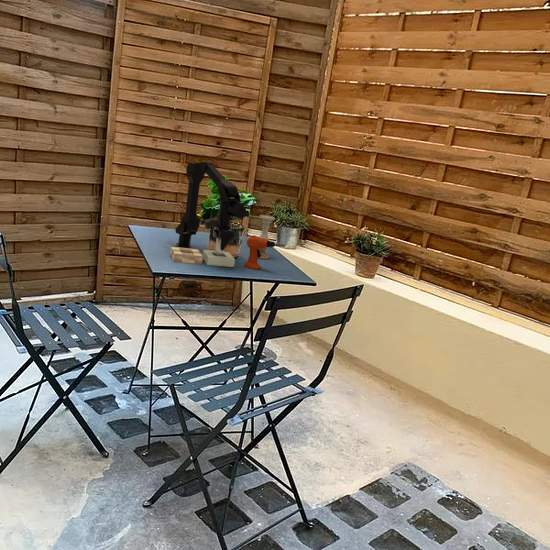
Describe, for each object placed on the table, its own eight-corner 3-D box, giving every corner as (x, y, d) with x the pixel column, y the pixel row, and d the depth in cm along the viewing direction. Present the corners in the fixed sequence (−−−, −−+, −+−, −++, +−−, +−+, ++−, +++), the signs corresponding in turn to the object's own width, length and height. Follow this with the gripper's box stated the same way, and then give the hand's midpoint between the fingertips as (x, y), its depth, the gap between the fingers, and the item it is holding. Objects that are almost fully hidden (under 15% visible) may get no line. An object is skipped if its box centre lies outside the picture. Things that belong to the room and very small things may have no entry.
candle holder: (248, 254, 269) (255, 213, 264) (264, 254, 273) (271, 215, 268) (256, 259, 262) (263, 217, 256) (272, 259, 266) (279, 219, 261)
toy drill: (281, 273, 237) (283, 239, 234) (242, 268, 244) (243, 235, 241) (285, 271, 242) (287, 238, 239) (247, 266, 249) (248, 233, 245)
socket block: (169, 254, 242) (170, 246, 241) (196, 256, 246) (197, 249, 245) (173, 261, 231) (174, 253, 230) (201, 264, 235) (202, 256, 234)
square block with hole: (202, 257, 247) (203, 249, 246) (227, 259, 251) (228, 252, 250) (207, 264, 236) (208, 256, 235) (233, 267, 240) (235, 259, 239)
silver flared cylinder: (212, 260, 244) (215, 236, 242) (220, 261, 246) (224, 237, 243) (214, 262, 241) (217, 238, 238) (222, 263, 242) (226, 239, 239)
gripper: (203, 207, 243) (198, 241, 247) (211, 215, 226) (206, 251, 230) (227, 210, 247) (221, 243, 251) (237, 218, 230) (231, 254, 234)
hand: (219, 248), depth 242 cm, fingers open, 8 cm apart
